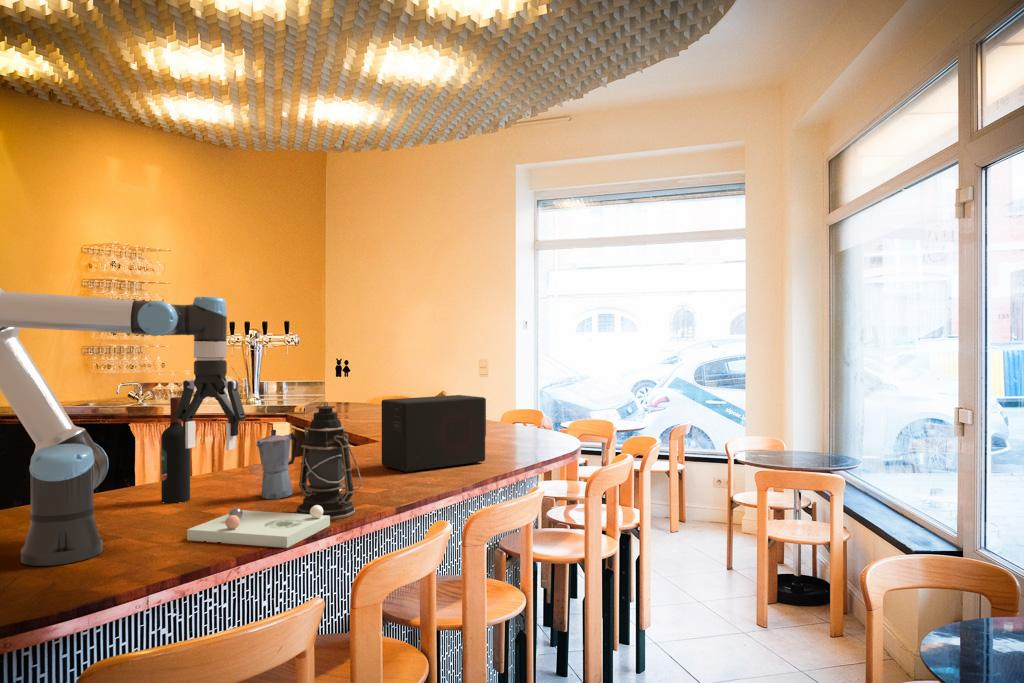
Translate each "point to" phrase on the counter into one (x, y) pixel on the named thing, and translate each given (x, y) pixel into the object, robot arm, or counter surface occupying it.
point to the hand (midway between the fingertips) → (210, 448)
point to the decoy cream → (316, 511)
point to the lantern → (326, 466)
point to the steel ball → (236, 512)
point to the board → (260, 529)
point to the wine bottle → (174, 460)
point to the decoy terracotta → (232, 522)
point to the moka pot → (276, 464)
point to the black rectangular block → (433, 432)
